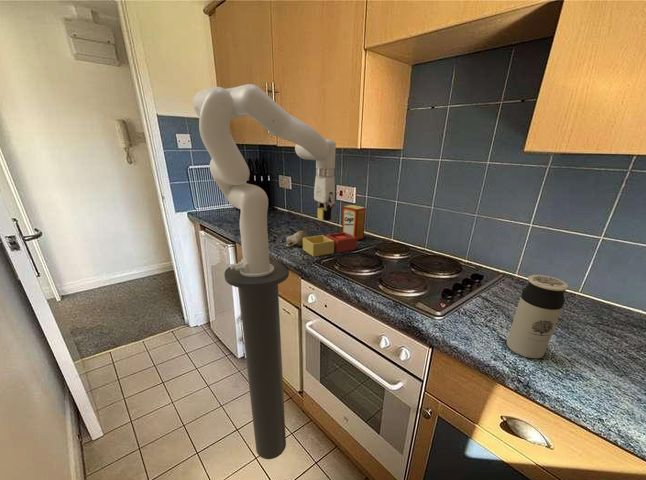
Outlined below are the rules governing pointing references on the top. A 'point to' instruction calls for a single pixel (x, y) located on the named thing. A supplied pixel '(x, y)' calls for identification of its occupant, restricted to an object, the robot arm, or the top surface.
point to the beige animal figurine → (296, 239)
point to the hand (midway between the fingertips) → (324, 218)
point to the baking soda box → (354, 220)
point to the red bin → (343, 242)
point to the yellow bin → (318, 245)
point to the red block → (340, 237)
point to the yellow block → (322, 213)
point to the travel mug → (536, 316)
